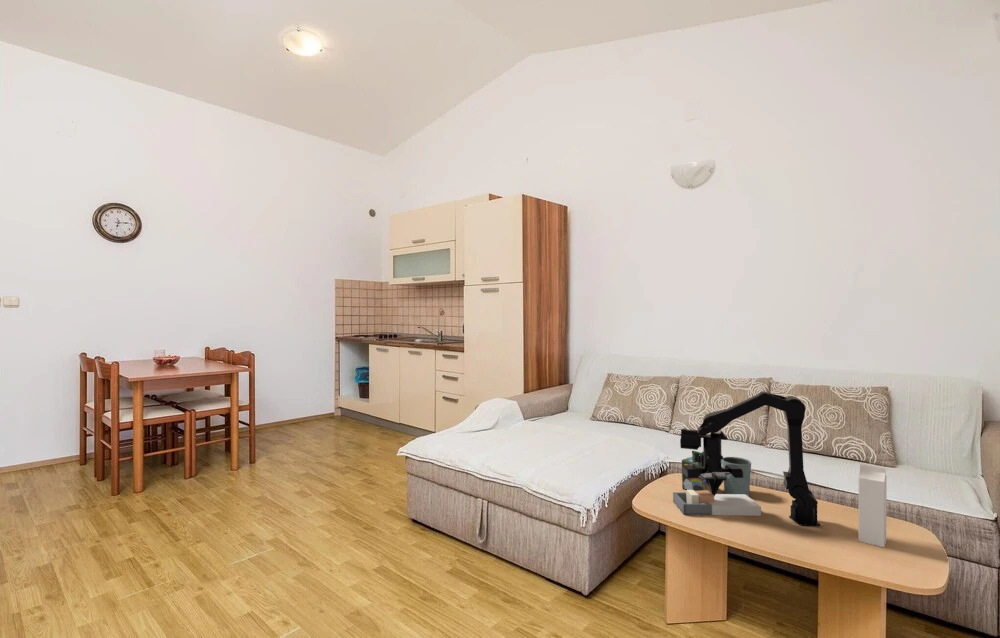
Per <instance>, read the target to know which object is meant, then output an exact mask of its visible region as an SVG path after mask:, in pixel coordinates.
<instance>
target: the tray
mask: <svg viewBox="0 0 1000 638" xmlns="http://www.w3.org/2000/svg"><path fill="white" fill-rule="evenodd" d="M672 496H673V497H672V502H674V503H675V504H676V505H677V506H676V505H675V504H674V503H673V504H674V505H675V506H676V507H677V508H678V510H679V509H680V510H679V511H680V512H681V514H683V515H684V516H713V515H712V504H702V503H699V504H691V503H687V499H686V491H685V492H683V491H682V492H681V491H680V492H676V491H675V492H673V493H672Z"/></svg>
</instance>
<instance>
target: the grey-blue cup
mask: <svg viewBox="0 0 1000 638" xmlns="http://www.w3.org/2000/svg"><path fill="white" fill-rule="evenodd" d="M726 465H737V466H738V467H739V468H741V469H742V470H743V472H744V477H743V478H735V477H734V476H732V474H725V475H724V477H725V478H726V480H724V481H723V490H724V492H725V494H746V495H747V496H748V497H749V495H750V494H751V489H750V488H751V487H750V485H751V471H752V461H751V460H749V459H748V458H743V457H737V456H723V459H722V468H725V466H726Z"/></svg>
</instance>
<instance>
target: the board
mask: <svg viewBox="0 0 1000 638" xmlns="http://www.w3.org/2000/svg"><path fill="white" fill-rule="evenodd" d="M702 504H712V515H711V516H752V517H753V516H756V517H757V516H759V517H760V516H762V506H761V505H760V504H758V503H757V502H756V501H755V500H754V499H752V498H751V497H749V495H748V496H747V495H746V494H728V493H716V494H715V496H714V503H702Z"/></svg>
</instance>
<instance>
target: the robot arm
mask: <svg viewBox="0 0 1000 638" xmlns="http://www.w3.org/2000/svg"><path fill="white" fill-rule="evenodd" d="M765 406H768V407H771V408H774V409H776V410H780V411H783V415H784V418H785V422H786V425H787V426H786V427H787V446H788V447H787V449H788V464H789V465H788V466H789V467H788V470H787V471H782V472H783V473H782V474H783V479H784V480H783V485H784V487H785V490H787V491H788V494H789V496H790V497H792V498H793V499H794V500H793V499H792V500H791V505H790V515H788V517H789V518H790V519H791V520H792V521H793V522H795V523H796V524H797V525H799V526H818V527H819V526H821V522H819V521H818V500H817V498H816V497H815V495H814V493H813V492H812V491H811V490H810V489H809V484H808V480H807V477H806V474H805V471H804V455H803V454H804V453H803V452H804V451H803V431H802V430H803V429H802V427H803V424H804V420H805V416H806V415H805V414H806V405H805V403H804V402H803V401H802V400H801V399H799V398H798V396H793V395H789V396H783V395H779V394H774V393H770V392H767V391H761V392H759V393H757V394H755V395H753V396H751V397H749V398H747V399H745V400H742V401H741V402H739V403H737V404H735V405H732V406H729V407H728V408H725V409H720V410H716V411H711V412H710V413H707V414H705V415H704V416H703V419H702V423H701V424H700V426H698V428H697V429H687V428H681V430H680V441H679V442H680V443H679V446H680V449H685V450H686V449H687V450H693V451H698V450H699V449H700V448H702V447H703V449H702V450H703V451H702V452H701V453H702V456H700V455H699V453H693V454H692V453H691V455H692V456H691V457H692V460H693V463H698V465H700V466H701V467H704V468H697V467H696V466H695V465H684V467H683V473H684V474H685V475H686V476H687V477H688V478H698V477H699V476H701V477H702V478H703V479H705V480H706V482H707V485H708V487H709V490H710V493H712V494H713V495H714V496H715V494H717V493H718V490H719V489H720V487H721V485H722V483H724V480H726V478H725V477H724V475H725V474H732V476H734V477H735V478H743V477H744V472H743V470H742V469H741V468H739V467H738V466H737V465H726V466H725V468H722V459H723V458H724V455H722V440H724V441H728V435H726V434H725V432H724V431H723V428H725V427H726V426H728V425H729V424H730V423H731V422H733V421H735V420H736V419H739V418H741V417H743V416H745V415H747V414H749V413H751V412H754V411H755V410H759V409H761V408H762V407H765ZM702 443H703V444H702Z"/></svg>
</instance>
